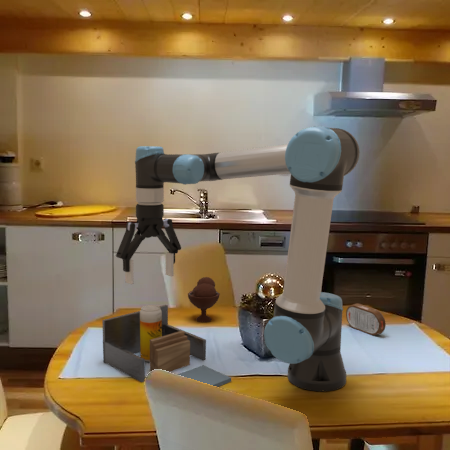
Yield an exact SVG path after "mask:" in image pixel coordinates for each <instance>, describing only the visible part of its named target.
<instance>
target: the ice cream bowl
mask: <svg viewBox="0 0 450 450" xmlns="http://www.w3.org/2000/svg"><path fill="white" fill-rule="evenodd" d="M220 295H221V293H220V292H219V291H217V289H216V282H215V281H214V280H213V278H211V277H210V276H209V277H208V276H205V277H201V278H199V279H198V281H197V283H196V285H195V287H193V289H192V290H190V291H189V292H188V293H187V297H188V300H189V302H190V303H191V304H192V305H193V306H194V307H196V308H197V309H199V310H200V311H201V312H200V313H201V314H200V315H199V316H197V317H196V318H195V321H196V322H197V323H210V322H211V321H212V318H211V316H209V315H207V311H208V309H211V308H212V307H213V306H215V305H216V304H217V302H218V300H219V298H220Z"/></svg>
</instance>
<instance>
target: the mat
mask: <svg viewBox="0 0 450 450" xmlns="http://www.w3.org/2000/svg"><path fill="white" fill-rule="evenodd" d="M177 374H178V375H181V376H184V377H187V378H191V379H194V380H197V381H200V382H203V383H207V384H210V385H213V386H217V387H216V388H218V387H219V388H220V387H221V386H223V385H225V384H229V383H231V382H232V377H231V376H228V375H227V374H225V373H222V372H220V371H217V370H215V369H213V368H211V367H209V366H206V365H204V364H203V365H200V366H196V367H194V368H191V369H189V370H186V371H183V372H181V373H180V372H179V373H177Z"/></svg>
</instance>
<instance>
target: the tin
mask: <svg viewBox="0 0 450 450" xmlns="http://www.w3.org/2000/svg"><path fill="white" fill-rule="evenodd" d="M345 311H346V312H345V315H346V321H347V324H348V325H349V326H350V327H351V328H352V329H355V330H357V331H359V332H363V333H364V334H365V333H366V334H367V335H371V336H377V335H381V334H382V333H384V332H385V329H386V327H387V326H386V323H387V322H386V319H385V317H384V315H383V313H382V312H381V311H379V310H378V309H376V308H373V307H369V306H367V305H363V304H361V303H353V304H351V305H349V306H348V307H347V308H346V310H345Z"/></svg>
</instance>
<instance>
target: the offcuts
mask: <svg viewBox="0 0 450 450" xmlns="http://www.w3.org/2000/svg"><path fill="white" fill-rule="evenodd" d="M184 331H185V330H183V331H179V332H175V333H172V334H168V335H165V336H161V337H158V338H155V339H151V340H150V362H149V372H150V371H152V370H154V369H162V370H166V371H169V372H168V373H170V372H173V371H177V370H179V369H183V368H186V367H188V366H190V365H191V355H190V341H189V340H187V336H186V335H185V332H184Z"/></svg>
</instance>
